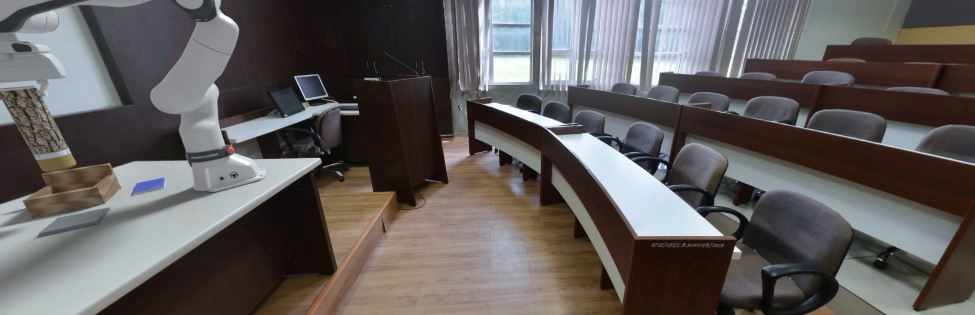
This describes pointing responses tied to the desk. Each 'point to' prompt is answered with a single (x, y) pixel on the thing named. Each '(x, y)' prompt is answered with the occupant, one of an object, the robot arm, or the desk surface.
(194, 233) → the desk surface
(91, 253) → the desk surface
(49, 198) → the frame
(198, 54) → the robot arm
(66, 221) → the slate pad
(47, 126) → the wooden log
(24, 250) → the desk surface
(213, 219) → the desk surface
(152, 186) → the hard drive
